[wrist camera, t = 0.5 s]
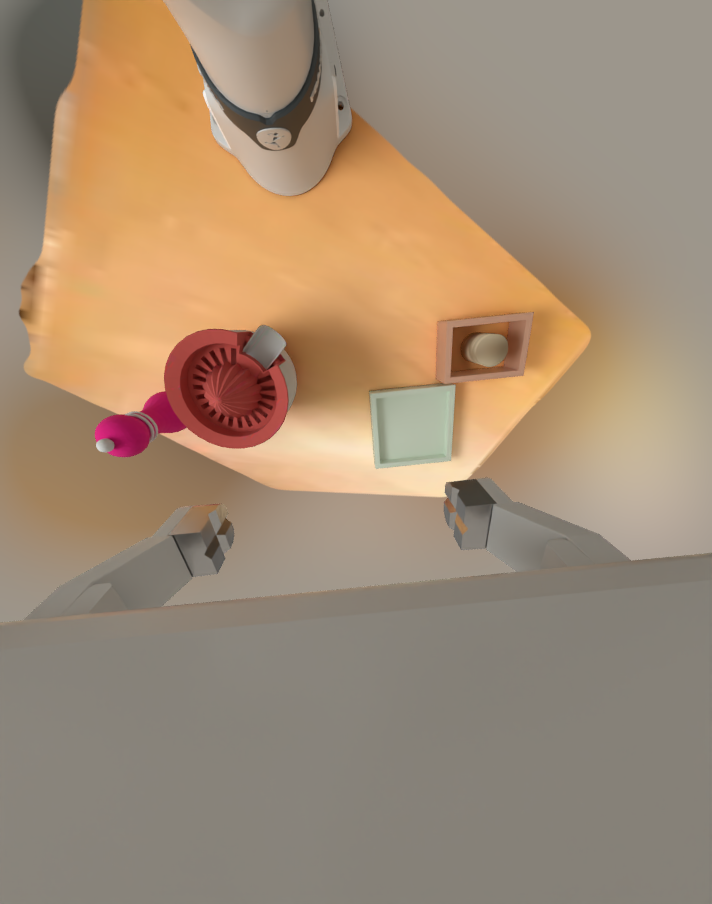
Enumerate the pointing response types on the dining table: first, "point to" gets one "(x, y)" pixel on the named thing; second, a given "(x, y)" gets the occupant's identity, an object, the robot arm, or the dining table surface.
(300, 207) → the dining table surface
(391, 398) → the tray
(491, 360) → the beech cylinder
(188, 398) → the citrus juicer
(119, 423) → the pepper mill
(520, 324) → the open square frame
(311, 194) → the dining table surface
